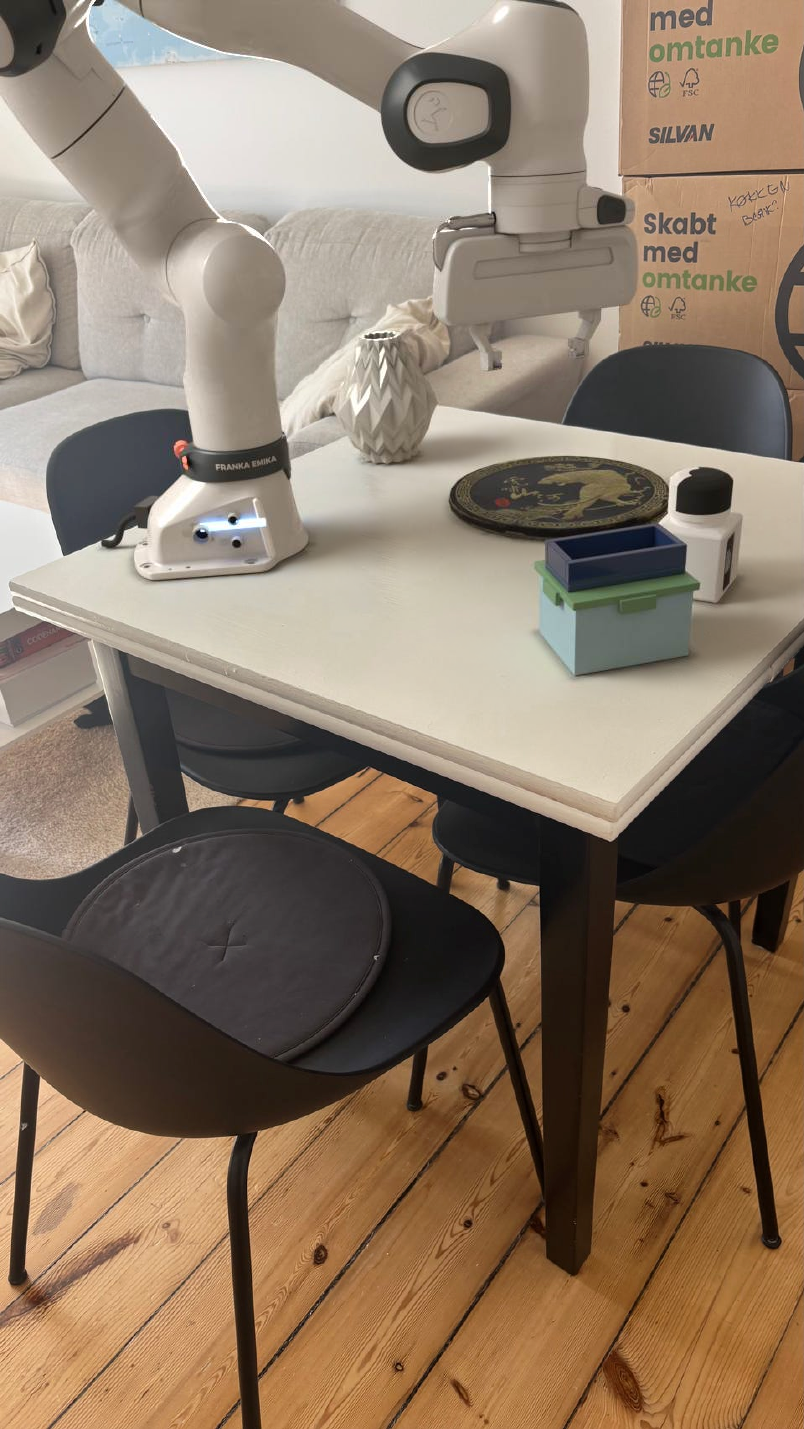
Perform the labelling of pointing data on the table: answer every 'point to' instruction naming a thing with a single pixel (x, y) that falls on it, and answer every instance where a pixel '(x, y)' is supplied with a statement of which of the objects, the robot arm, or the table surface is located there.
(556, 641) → the box
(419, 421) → the vase
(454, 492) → the decorative plate
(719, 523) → the container
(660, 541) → the low blue storage tray
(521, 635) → the table surface
